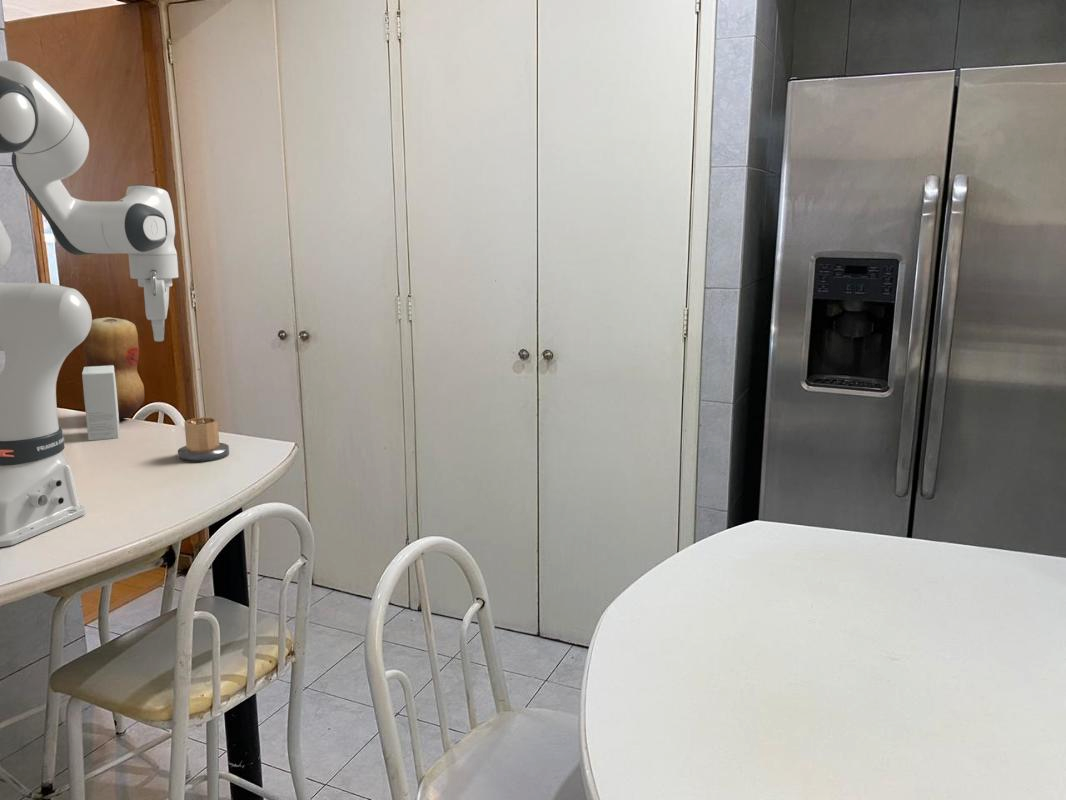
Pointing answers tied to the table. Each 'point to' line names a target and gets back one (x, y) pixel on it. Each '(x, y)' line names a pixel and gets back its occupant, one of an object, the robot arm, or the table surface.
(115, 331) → the butternut squash
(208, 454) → the duct stub
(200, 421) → the sleeve
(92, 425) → the skincare box
